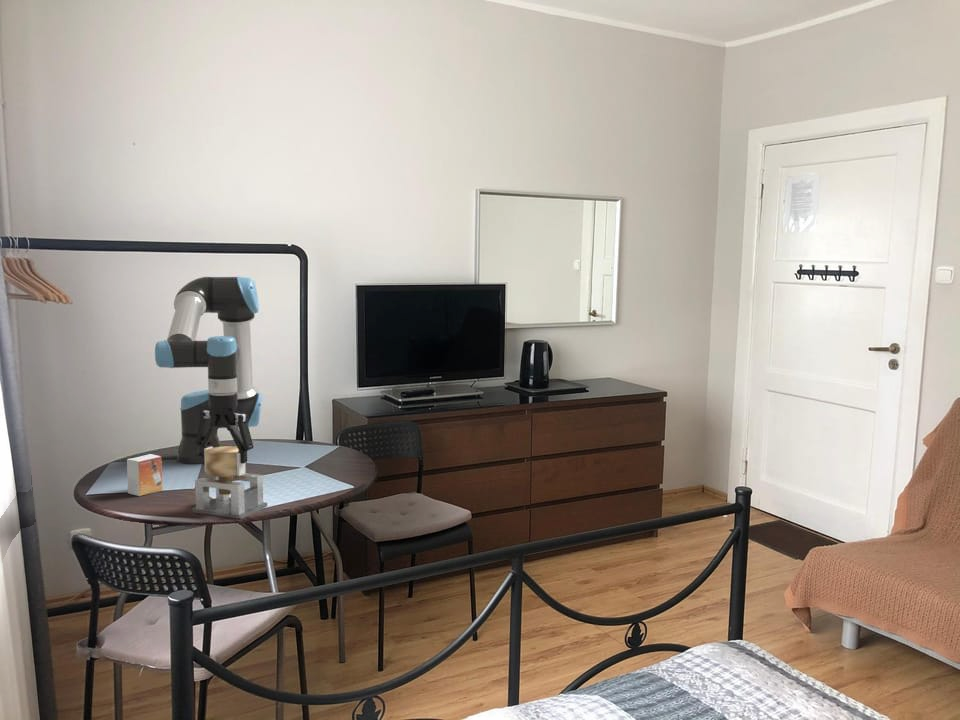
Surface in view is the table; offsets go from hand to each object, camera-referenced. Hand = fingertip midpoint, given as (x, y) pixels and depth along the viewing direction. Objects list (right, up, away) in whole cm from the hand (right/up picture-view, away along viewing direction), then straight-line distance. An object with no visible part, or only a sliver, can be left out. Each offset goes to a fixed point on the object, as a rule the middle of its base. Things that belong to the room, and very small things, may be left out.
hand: (225, 472), depth 217 cm
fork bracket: (+1, -10, +1) cm, 10 cm away
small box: (-29, -8, +16) cm, 34 cm away
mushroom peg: (0, -6, +1) cm, 6 cm away
